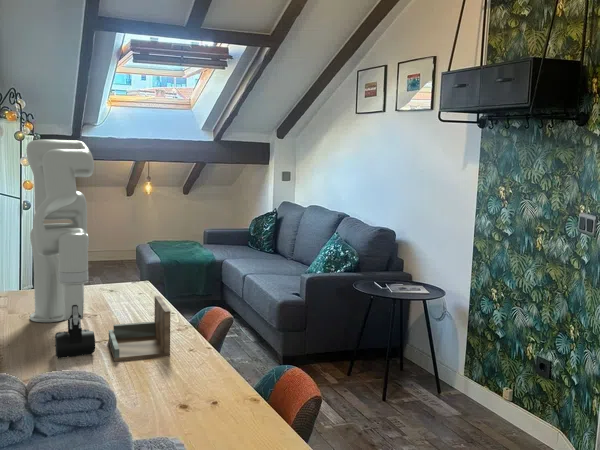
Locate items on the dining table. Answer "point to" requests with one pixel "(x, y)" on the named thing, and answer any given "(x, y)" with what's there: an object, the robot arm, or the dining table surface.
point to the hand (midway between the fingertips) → (74, 337)
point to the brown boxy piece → (143, 336)
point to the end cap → (74, 344)
